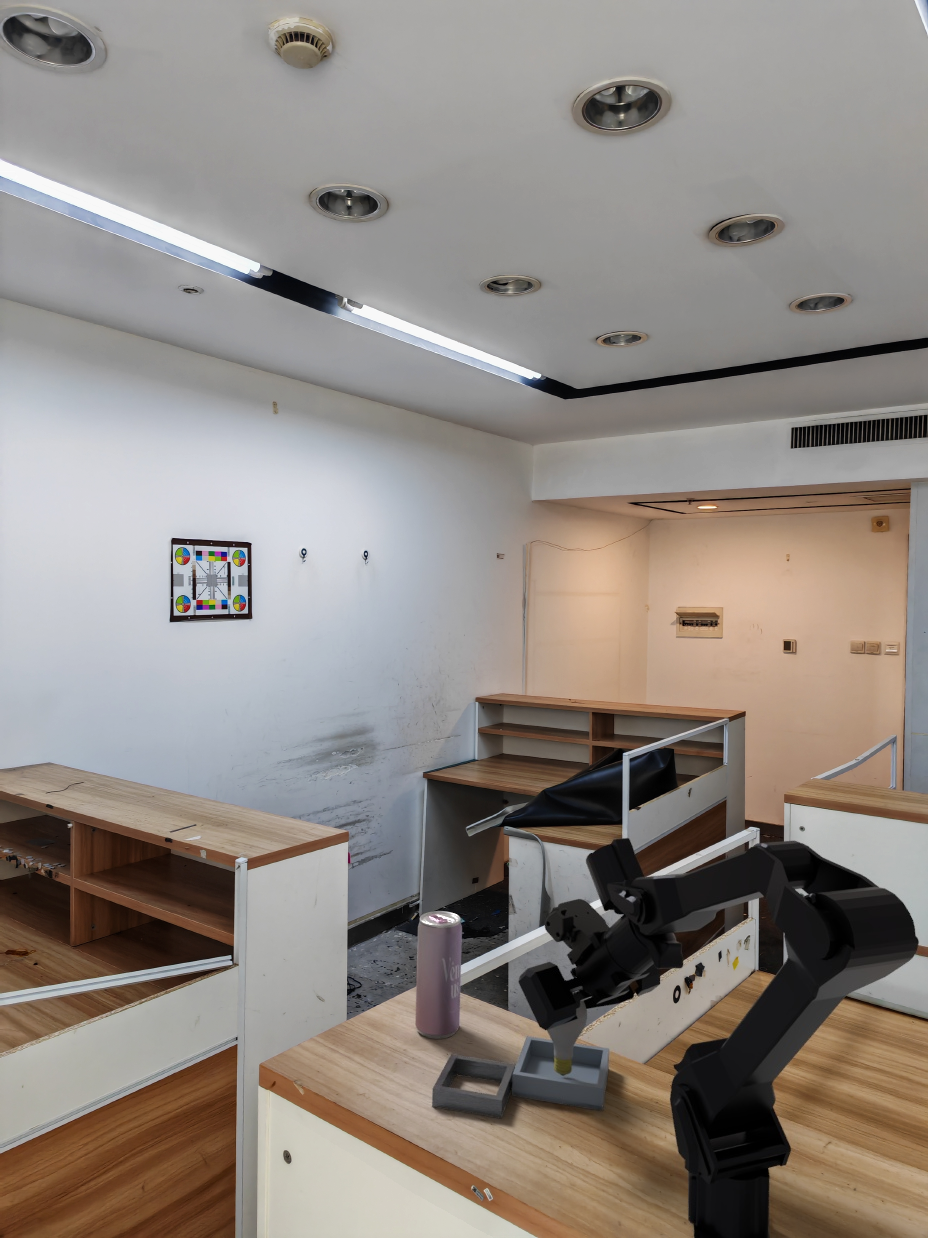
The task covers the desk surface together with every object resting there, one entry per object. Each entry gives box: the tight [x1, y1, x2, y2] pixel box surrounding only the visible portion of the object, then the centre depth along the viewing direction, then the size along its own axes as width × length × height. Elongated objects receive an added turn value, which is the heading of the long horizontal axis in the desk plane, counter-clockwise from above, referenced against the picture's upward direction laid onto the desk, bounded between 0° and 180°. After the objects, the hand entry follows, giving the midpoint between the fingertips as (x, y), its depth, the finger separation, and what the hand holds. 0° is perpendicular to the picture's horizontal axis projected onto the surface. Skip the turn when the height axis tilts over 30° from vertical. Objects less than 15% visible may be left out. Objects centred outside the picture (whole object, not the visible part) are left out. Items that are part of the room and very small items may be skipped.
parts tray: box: [511, 1035, 610, 1112], centre depth 98 cm, size 10×9×2 cm
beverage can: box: [414, 910, 463, 1040], centre depth 110 cm, size 6×6×15 cm
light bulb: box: [546, 992, 588, 1076], centre depth 98 cm, size 6×6×10 cm
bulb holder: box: [431, 1053, 516, 1119], centre depth 95 cm, size 8×8×2 cm
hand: (556, 1012), depth 99 cm, fingers open, 5 cm apart
